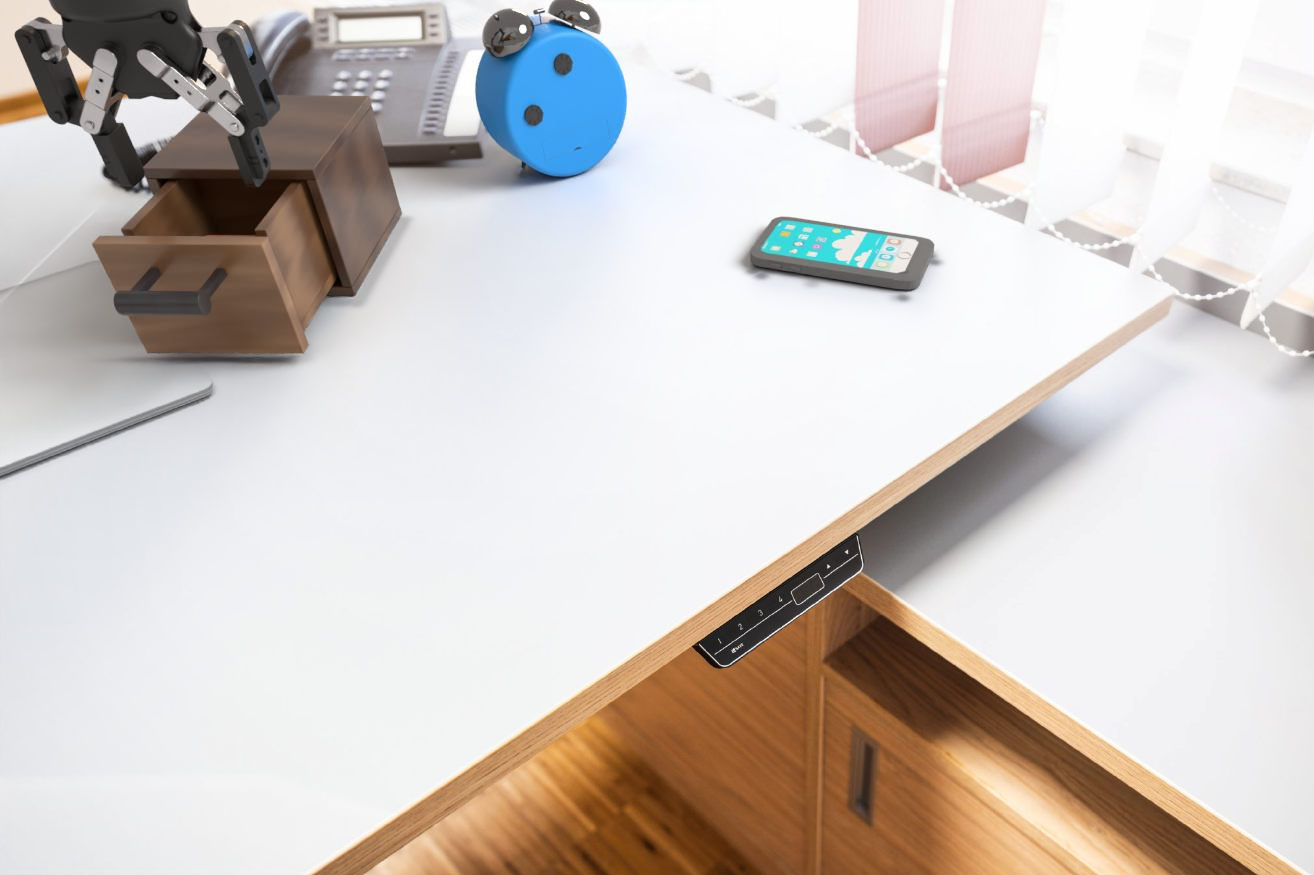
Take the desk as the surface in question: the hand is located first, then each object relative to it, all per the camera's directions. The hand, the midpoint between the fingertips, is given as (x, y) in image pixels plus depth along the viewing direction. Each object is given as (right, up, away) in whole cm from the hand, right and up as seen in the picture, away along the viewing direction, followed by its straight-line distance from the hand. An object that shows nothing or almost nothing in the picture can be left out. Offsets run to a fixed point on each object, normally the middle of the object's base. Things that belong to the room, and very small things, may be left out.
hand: (195, 182), depth 74 cm
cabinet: (-1, 0, +17) cm, 17 cm away
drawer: (0, -8, +7) cm, 11 cm away
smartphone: (+46, 0, +18) cm, 49 cm away
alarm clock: (+18, +12, +30) cm, 37 cm away
